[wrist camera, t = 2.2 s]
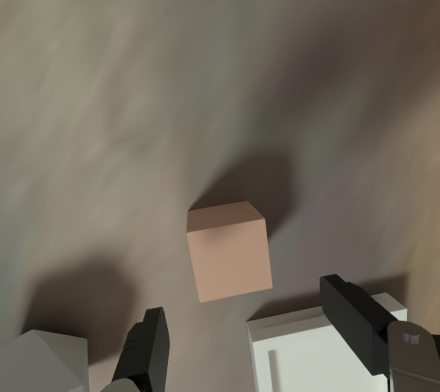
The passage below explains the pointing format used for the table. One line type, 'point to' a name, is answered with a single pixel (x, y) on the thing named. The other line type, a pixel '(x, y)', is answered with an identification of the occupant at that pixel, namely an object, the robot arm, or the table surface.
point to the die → (44, 363)
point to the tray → (310, 353)
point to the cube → (228, 250)
